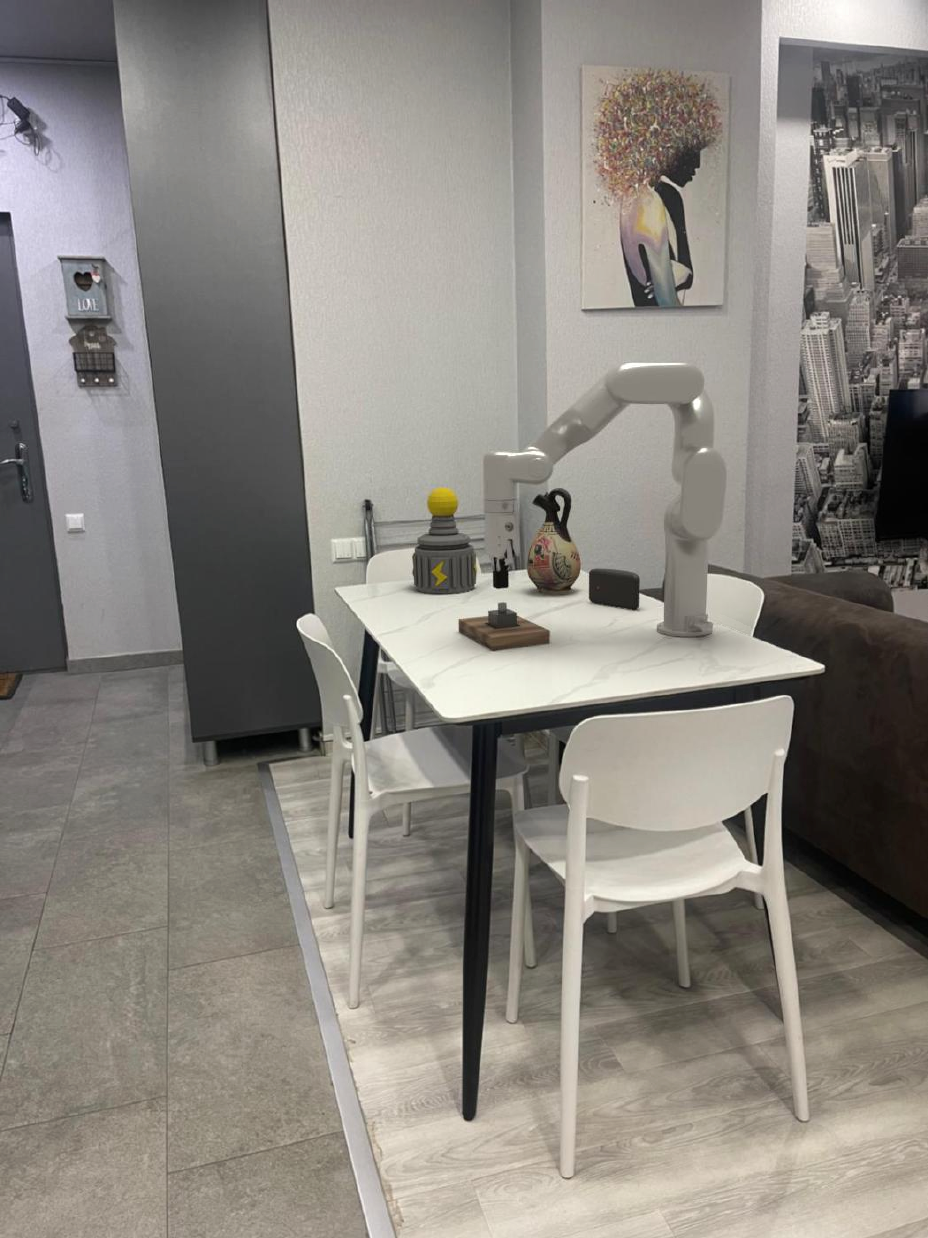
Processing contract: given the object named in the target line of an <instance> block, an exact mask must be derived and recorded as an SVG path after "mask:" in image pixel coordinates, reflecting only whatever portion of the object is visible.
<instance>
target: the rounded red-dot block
mask: <svg viewBox="0 0 928 1238" xmlns="http://www.w3.org/2000/svg"><path fill="white" fill-rule="evenodd" d="M640 583H641V581H640V575H638V573H635V572H632V571H629V570H622V569H615V568H592V569H590V570H589V572H588V600H589V602H591V603H592V604H597V605H601V604H603V606H607V605H608V606H607V607H613V606H614V608H618V607H620V608H619V609H624V608H626V609H625V610H630V609H632V610H631V611H636V610H638V609H639V607H640V589H641V588H640Z"/></svg>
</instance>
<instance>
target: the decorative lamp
mask: <svg viewBox="0 0 928 1238" xmlns="http://www.w3.org/2000/svg"><path fill="white" fill-rule="evenodd" d="M426 501H427V509H428V512H429V513H430V514H431V515H432V516H431V522H430V524H429V527H430V528H429V530H428V533H424V534H422V535H420V536H418V537H417V544H418V545H417V546H415V547H414V552H413V554H412V556H411V560H412V571H411V574H412V576H413V584H414V586H415V589H416V590H417V591H418V592H419V591H420V593H422V592H423V594H427V593H429V594H430V595H454V594H453V593H456V594H461V593H460V592H463V593H466V592H465V591H467V592H470V591H469V590H471V589H472V590H473V589H474V588H475V585H476V584H477V574H478V568H477V554H476V551H474V545H472V544H469V543H471V538H470V536H469V535H467V534H466V533H464V532H459V528H458V527H457V521H455V520H456V517H455V513H456V512H457V510H458V507H459V499H458V496H457V495H456V493H455V492H454V491H453V490H451V488H448V487H442V486H441V487H437V488H435V489H434V490H432V491H431V493H429V495H428V498H427V499H426ZM472 590H471V591H472Z"/></svg>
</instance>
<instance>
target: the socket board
mask: <svg viewBox="0 0 928 1238" xmlns="http://www.w3.org/2000/svg"><path fill="white" fill-rule="evenodd" d="M458 632H459V633H461V634H462V635H465V636H466V637H467V638H470V639H471V640H473V641H474V642H476V643H478V644H480V645H482V646H483V647H485V648H487V649H488V650H490V651H492V652H493V651H502V650H509V649H516V648H524V647H533V646H541V645H547V644H550V643H551V642H550V639H551V638H550V633H551V632H550V629H548V628H546V627H543V626H542V625H541V626H540V625H539V624H536V623H534V622H532V621H530V620H528V619H526V618H524V617H522V616H519V615H517V627H509V628H500V629H494V628H492V627H490V626H488V615H485V616H484V615H483V616H482V615H481V616H475V617H466V618H458Z"/></svg>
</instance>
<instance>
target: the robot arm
mask: <svg viewBox="0 0 928 1238" xmlns="http://www.w3.org/2000/svg"><path fill="white" fill-rule="evenodd" d="M631 404H633V405H666V406H668V408H669V409H670V410H671V412H672V415H673V421H674V437H673V438H674V439H673V450H672V460H671V474H672V478H673V479H674V481H675V483H677V484H678V485H680V486H681V489H680V490H681V491H680V494H679V495H677V496H675V497H673V498H672V499H671V500H669V502H668V504H667V505H666V506H665V510H664V513H663V528H664V529H663V531H664V540H665V541H664V544H665V548H664V550H665V551H664V553H665V555H664V556H665V557H664V559H665V560H664V561H665V563H664V589H663V590H664V591H663V592H664V593H663V594H664V595H663V597H664V598H663V621H661V622H659V623H657V624H656V631H657V632H659V633H661V634H663V635H666V636H673V637H683V638H684V637H689V638H690V637H701V636H702V637H703V636H707V635H709V634H711V633H712V632H713V626H714V623H713V622H711V621H709V619H708V618H709V617H708V615H709V614H707V601H708V600H707V598H708V597H707V595H708V594H707V593H708V570H709V569H708V567H709V566H708V565H709V543H708V541H709V540H710V539H712V538H713V537H714V536H715V535H717V533H718V531H719V530H720V528H721V526H722V523H723V517H724V509H725V499H726V488H727V465H726V462H725V458H724V457H723V455H722V454H721V453H720V452H719V451H718V450H717V449H715V448H714V439H715V438H714V437H715V413H714V408H713V404H712V401H711V398H710V397H709V395H708V394H707V392H706V390H705V378H704V374H703V372H702V371H701V369H700V368H699V367H698V366H696V365H694V364H693V363H691V362H690V363H689V362H626V363H625V362H624V363H621V364H618V365H615V366H613V367H612V368H610V369H609V370H608V371H607V372H606V373H605V374H603V375H602V377H601V378H599V379H598V380H597V381H596V382H595V383H594V384H593V385H592V386H590V388H589V389H588V390H586V391H585V393H583V394H582V395H581V396H580V397H579V398H578V399H577V400H575V402H573V404H571V405H570V406H569V407H568V408H567V409H566V410H564V412H563V413H561V414H560V415H559V417H557V418H556V420H555V421H553V422H552V423H551V424H550V425H549V426H547V427H546V428H545V429H544V430H543V431H542V432H541V433H540V434H538V435H537V436H536V437H535V438H534V439H533V440H532V441H531V442H530V443H529V444H528V445H527V446H526V447H524V449H522V451H521V452H513V451H512V450H511V451H509V450H493V451H486V452H485V454H484V455H483V460H482V465H483V466H482V467H483V468H482V470H483V471H482V473H483V474H482V475H483V477H482V478H483V484H482V485H483V515H485V518H484V535H483V537H484V539H483V540H484V541H483V543H484V545H483V546H484V552H485V554H486V555H488V558H489V560H490V561H491V569H492V587H493V588H494V589H496V590H501V589H508V588H509V581H510V580H509V579H510V578H509V577H510V575H509V574H510V573H509V571H510V566H511V565H513V564H514V560H513V558H514V559H518V558H519V557H520V556H521V548H520V547H521V546H520V530H519V527H520V526H519V520H518V484H528V485H534V486H535V485H541V484H544V483H546V482H547V481H549V479H550V478H551V477H552V475H553V473H554V466H555V465H556V464H557V463H559V461H560V460H562V459H563V457H565V456H566V455H568V453H570V452H572V450H574V449H576V448H577V447H579V446H581V445H584V444H585V443H588V442H589V441H591V440H592V439H594V438H595V437H596V436H597V435H598V434H600V432H602V431H603V430H604V429H605V428H606V427H607V426H608V425H609V424H610V423H611V422H613V420H614V419H616V417H617V416H619V414H621V413H622V412H624V411H625V409H627V408H628V406H630V405H631Z"/></svg>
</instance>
